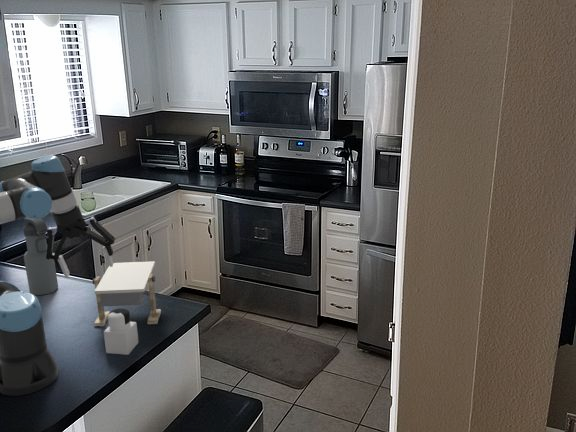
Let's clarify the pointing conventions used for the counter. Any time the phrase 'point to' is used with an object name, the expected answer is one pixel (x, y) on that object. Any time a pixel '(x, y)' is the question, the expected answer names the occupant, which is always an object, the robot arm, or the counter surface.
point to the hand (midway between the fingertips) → (89, 270)
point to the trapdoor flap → (124, 283)
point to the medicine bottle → (120, 333)
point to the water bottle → (38, 259)
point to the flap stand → (103, 315)
